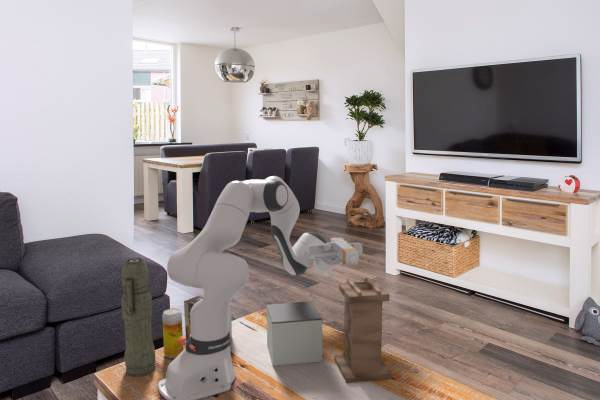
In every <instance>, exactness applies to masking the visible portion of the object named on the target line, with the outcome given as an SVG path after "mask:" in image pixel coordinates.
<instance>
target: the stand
mask: <svg viewBox="0 0 600 400" xmlns="http://www.w3.org/2000/svg"><path fill="white" fill-rule="evenodd" d="M338 291H339V292H340V294H341V295H342V296H343V297H344V314H343V315H344V318H343V319H344V322H343V324H344V327H343V330H344V331H343V339H344V340H343V354H339V355H334V359H333V361H334V362H335V364H336V367H337V368H338V370H339V372H340V373H341V376H342V377H343V380H344V382H345V384H352V383H362V382H371V381H379V380H390V379H392V378H393V377H392V376H393V375H392V374H393V373H392V372H391V371H390V370H389V368H388V366H387V365H386V364H385V362H384V361H383V359H382V341H383V340H382V339H383V338H382V334H383V302H389V301H390V293H389V292H388V291H386V290H385V289H384V287H383V286H382V285H380V284H379V283H378V282H377V281H376V280H375V281H374V280H372V281H371V279H369V277H364V281H355V282H353V280H351V278H347V279H346V282H342V283H338Z"/></svg>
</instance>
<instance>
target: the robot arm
mask: <svg viewBox="0 0 600 400" xmlns="http://www.w3.org/2000/svg"><path fill="white" fill-rule="evenodd" d="M300 210H301V209H300V204H299V201H298V199H297V197H296V195H295V194H294V192H293V191H292V189H291V188H290V187H289V185H288V184H287V183H286V182H285V181H284V180H283V179H282V178H281V177H279V176H277V175H272V176H268V177H266V178H264V179H257V178H256V179H255V178H254V179H245V180H232V181H230V182H229V183H227V184H226V185H225V187H224V188H223V190H222V191H221V193H220V195H219V196H218V197H217V200H216V202H215V203H214V207H213V209H212V211H211V212H210V213H211V214H210V215H209V217H208V219H207V221H206V223H205V225H204V227H203V228H202V230H201V231H200V232H199V234H198V235H196V237H195V238H193V240H191V241H190V242H189V243H188V244H186V245H185V246H184V247H182V248H180V249H177V250H175V251H174V252H173V253H172V254H171V255H170V257H169V258H168V261H167V265H166V271H167V275H168V277H169V279H170V280H172V281H173V282H175V283H178V284H179V285H183V286H185V287H190V288H196V289H197V288H198V289H202V290H203V293H204V294H203V298H204V299H202V300H200V301H198V302H196V303H195V304H194V305H193V307H192V308H191V311H190V327H191V333H190V335H189V338H188V340H187V339H186V336H182V337H180V339H179V343H181V344H182V345H183V346H185V348H183V351H182V352H181V353H180V354H179V355H178V356H177V357H176V358H173V360H172V361H171V362H170V363H169V364H168V366H167V368H166V373H165V378H162V379H161V380H159V381H158V383H157V384H158V386H157V389H158V392H159V393H160V395H161V396H162V397H163V398H164V399H165V400H201V399H204V398H207V397H211V396H214V395H218V394H221V393H225V392H228V391H230V390H231V387H232V383H233V382H234V381H235V379H236V372H235V368H234V366H233V362H232V354H231V348H230V347H231V344H232V342H231V337H230V331H229V306H230V305H231V303H232V300H233V298H234V297H235V296H236V294H237V293H239V292H240V291H242V290H243V289H244V287H246V285H247V283H248V281H249V279H250V267H249V265H248V263H247V261H246V259H244V258H242V257H240V256H237V255H235V254H232V253H227V252H224V251H225V250H227V249H229V248H232V247H233V246H235V245H236V244H237V243H239V242H240V240H241V238H242V235H243V232H244V230H245V227H246V224H247V222H248V220H249V217H250V214H251V213H258V214H259V213H266V212H267V213H269V216H270V224H271V225H270V233H271V236H272V238H273V242H274V243H275V246H276V248H277V251H278V254H279V255H280V258H281V262H282V263H281V264H282V266H283V269H284V270H285V271H286V272H287V273H288V274H289V275H291V276H294V277H298V276H302V275H304V274H305V273H306V272H307V270H308V268H309V267H310V266H311V264H312V265H313V268H314V269H315V271H316V272H318V273H320V274H327V273H330V272H331V271H333V270H334V269H335V268H336V267H337V266H340V265H342V264H343V265H344V264H345V263H344V262H343V261H342V260H341V259H340V258H339V257H338V256H337V255H336V254H335V253H334V252H333V251H332V250H331V249H333V248H334V246H333V243H331V242H327V240H325V238H324V237H322V235H320V234H318V233H316V232H311V231H307V232H303V233H302V235H301V236H300V237H299V238H298V239H297V241H296V242H295V244H294V245H292V244H291V242H290V237H291V233H292V231H293V228H294V226H295V225H296V222H297V221H298V219H299V216H300V212H301V211H300ZM346 242H347V241H346ZM347 243H349V242H347ZM349 244H350V245H351V246H352V247H353V248H355V249H356V250H357V251H358V257H359V256H361V255H362V254H363V245H362V243H361V242H350V243H349Z"/></svg>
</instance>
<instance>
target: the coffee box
mask: <svg viewBox="0 0 600 400" xmlns="http://www.w3.org/2000/svg"><path fill="white" fill-rule="evenodd" d="M202 299H204V296H203V297H202V296H199V295H196V296H195V297H191V298H188V299H186V300H184V301H183V307H184V309H183V310H184V311H183V312H184V327H185V328H184V329H185V338H186V339H187V340H188V338H189V335H190V333H191V327H190V311H191V308H192V307H193V305H194V304H195V303H196V302H198V301H200V300H202Z"/></svg>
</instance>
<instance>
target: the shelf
mask: <svg viewBox="0 0 600 400" xmlns="http://www.w3.org/2000/svg"><path fill="white" fill-rule="evenodd" d="M266 341H267V342H266V345H267V349H268V353H269V357H270V361H271V365H272V367H276V366H277V367H278V366H287V365H297V364H307V363H318V362H319V363H320V362H323V317H322V315H321V313H320V311H319V310H318V308H317V307H316V305H315V303H314V302H313V301H311V300H310V301H299V302H286V303H285V302H283V303H272V304H268V303H267V304H266Z"/></svg>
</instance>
